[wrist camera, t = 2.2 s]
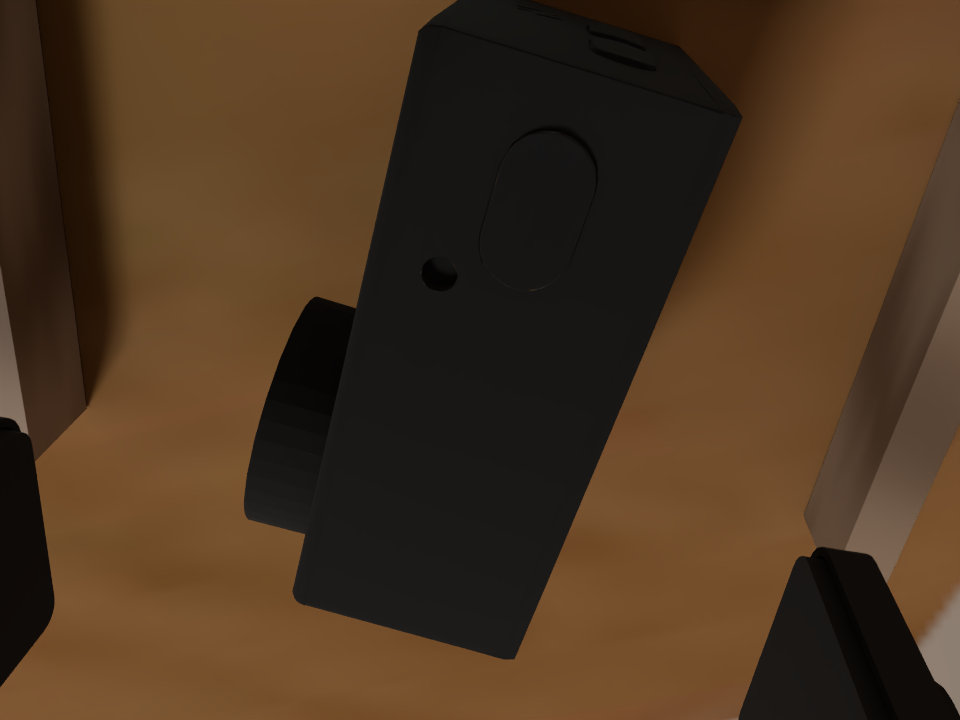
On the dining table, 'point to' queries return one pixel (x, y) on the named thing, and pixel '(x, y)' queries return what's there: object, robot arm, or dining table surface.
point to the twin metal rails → (853, 450)
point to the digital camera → (488, 320)
